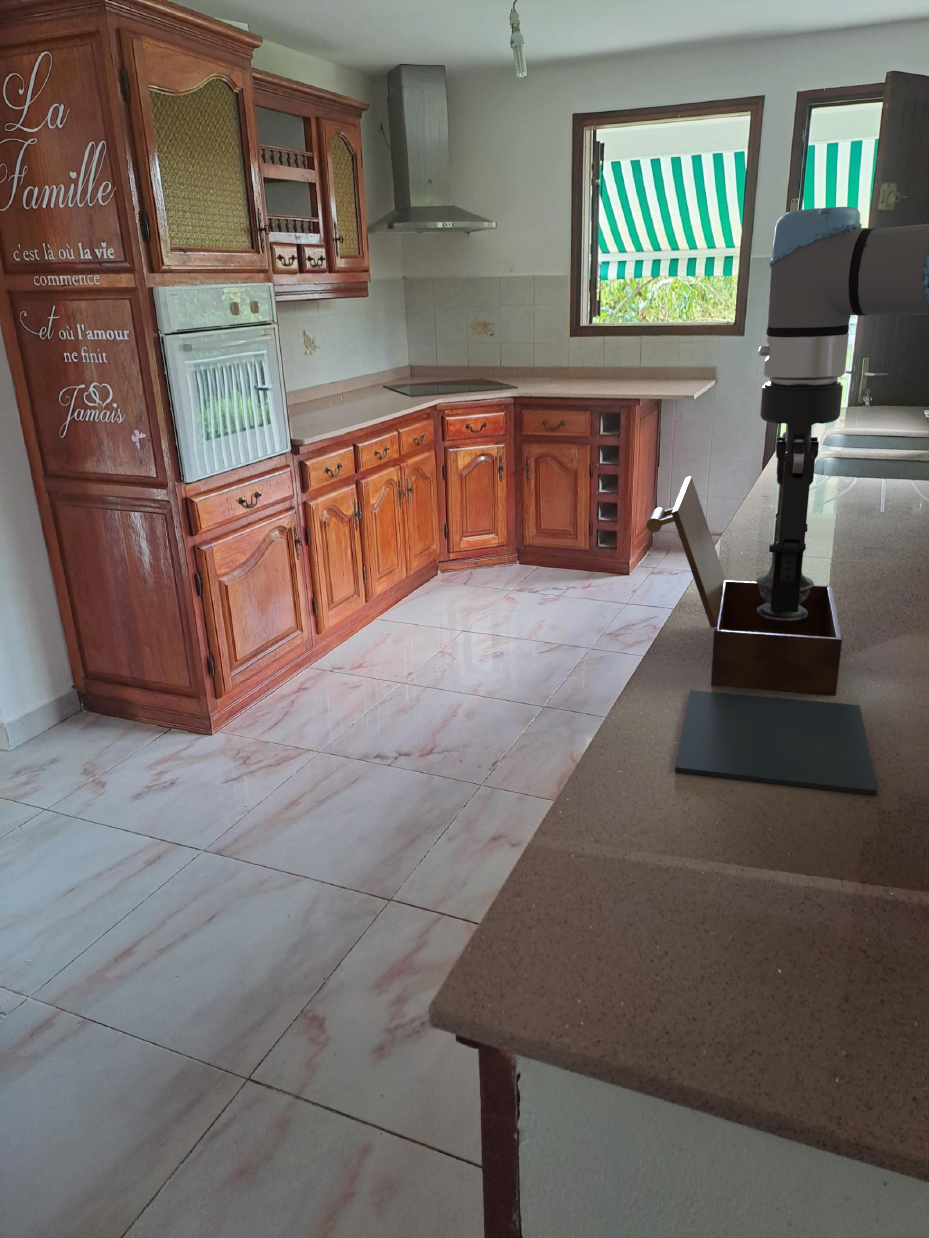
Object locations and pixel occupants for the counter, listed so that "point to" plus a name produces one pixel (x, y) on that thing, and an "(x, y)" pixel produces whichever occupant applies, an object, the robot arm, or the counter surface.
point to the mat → (776, 742)
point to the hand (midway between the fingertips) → (783, 599)
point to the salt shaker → (766, 591)
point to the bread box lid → (695, 546)
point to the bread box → (776, 643)
